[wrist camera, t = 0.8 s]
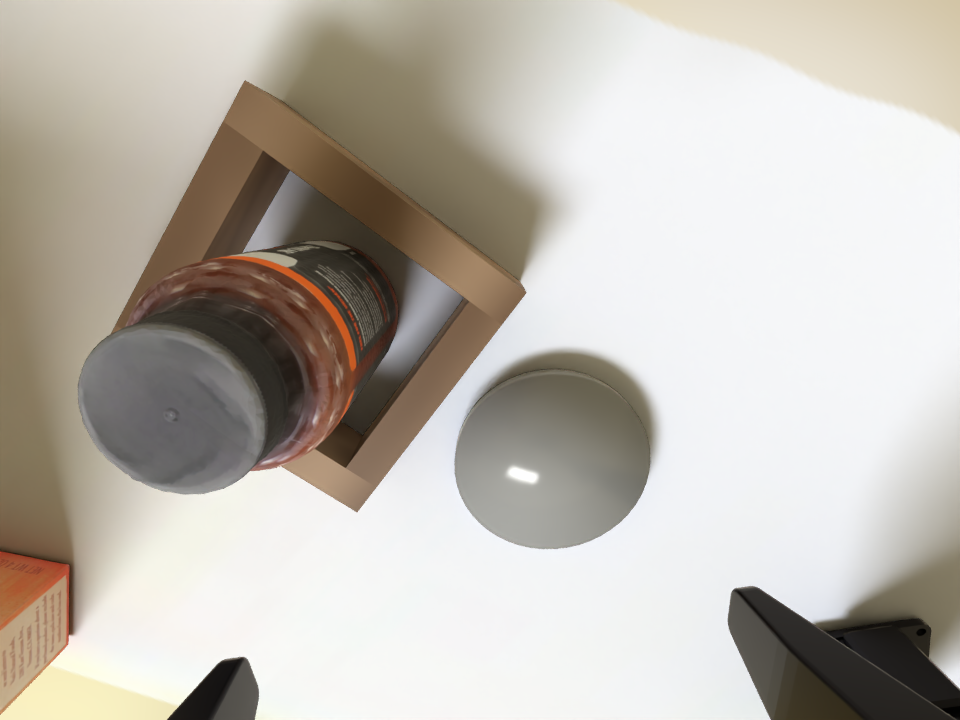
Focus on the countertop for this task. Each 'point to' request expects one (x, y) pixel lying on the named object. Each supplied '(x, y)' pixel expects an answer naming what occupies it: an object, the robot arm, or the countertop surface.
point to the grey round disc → (551, 459)
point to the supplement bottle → (237, 364)
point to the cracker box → (30, 620)
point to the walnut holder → (377, 204)
